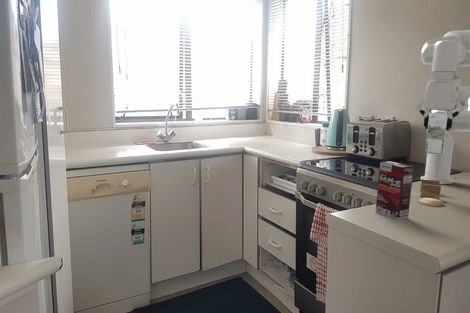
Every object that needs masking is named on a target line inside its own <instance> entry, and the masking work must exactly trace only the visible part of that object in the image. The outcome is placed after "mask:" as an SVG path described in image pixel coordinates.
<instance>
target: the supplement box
mask: <svg viewBox="0 0 470 313" xmlns="http://www.w3.org/2000/svg"><path fill="white" fill-rule="evenodd" d="M414 168H415V166H414V165H410V164H406V163H405V164H404V163H399V162H394V161H389V160H388V161H381V162H379V170H378V180H377V192H376V202H375V203H376V204H375V213H376V214H379V215H382V216H385V217H388V218H391V219H393V220H396V221H402V220H406V219H408V218H409V212H410V204H411V195H412V194H411V193H412V185H413V176H414Z"/></svg>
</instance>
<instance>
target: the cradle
mask: <svg viewBox="0 0 470 313" xmlns="http://www.w3.org/2000/svg"><path fill="white" fill-rule="evenodd" d="M439 183H440V181H436V180H427V179H422V180H421V183H420V198H432V199H437V200H440V199H441V198H440V197H441V190H442V185H440V184H439Z"/></svg>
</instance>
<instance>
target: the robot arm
mask: <svg viewBox="0 0 470 313" xmlns="http://www.w3.org/2000/svg"><path fill="white" fill-rule="evenodd" d="M420 60H421V62H422V63H423V65H427V66H428V65H429V66H430V65H431V73H430V74H431V75H430V81H427V85H426V88H425V94H424V99H423V100H422V101H420V102H419V103H418V104H416V105H415V109H416V110H417V111H418V112H419V113H420V114H421V115H422V117H423V127H424V129H425V130H428V122H429V113H430V112H443V113H448V119H447V124H446V135H445V143H444V153H443V154H432V153H426V160H425V161H426V163H425V170H424V171H425V172H424V175H422V176H420V180H421V181H422V179H427V180H436V181H440V183H439V185H452V184H453V183H454V179H452V178H450V177H451V168H452V161H453V151H454V146H455V145H454V143H455V141H454V139H453V137H452V136H451V135H450V133H449V132H466V133H467V132H470V86H469V85H468V86H467V85H466V86H465V85H464V86H463V85H461V82H462V80H461V74H460V73H458V72H457V67H470V29H464V30H463V29H462V30H461V29H460V30H452V31H447V33H445V34H444V35H443V36H442V37H438V38H433V39H429V40H428V41H426V42H425V43H424V44H423V46H422V48H421V51H420ZM422 107H423V108H424V109H423V108H422ZM425 110H426V111H425Z"/></svg>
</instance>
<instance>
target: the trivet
mask: <svg viewBox="0 0 470 313" xmlns="http://www.w3.org/2000/svg"><path fill="white" fill-rule="evenodd" d="M418 202H419V204H421V205H423V204H424V206H429V207H442V206H443V201H442V200H440V199H439V200H437V199H432V198H421V197H420V198H419V200H418Z"/></svg>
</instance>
